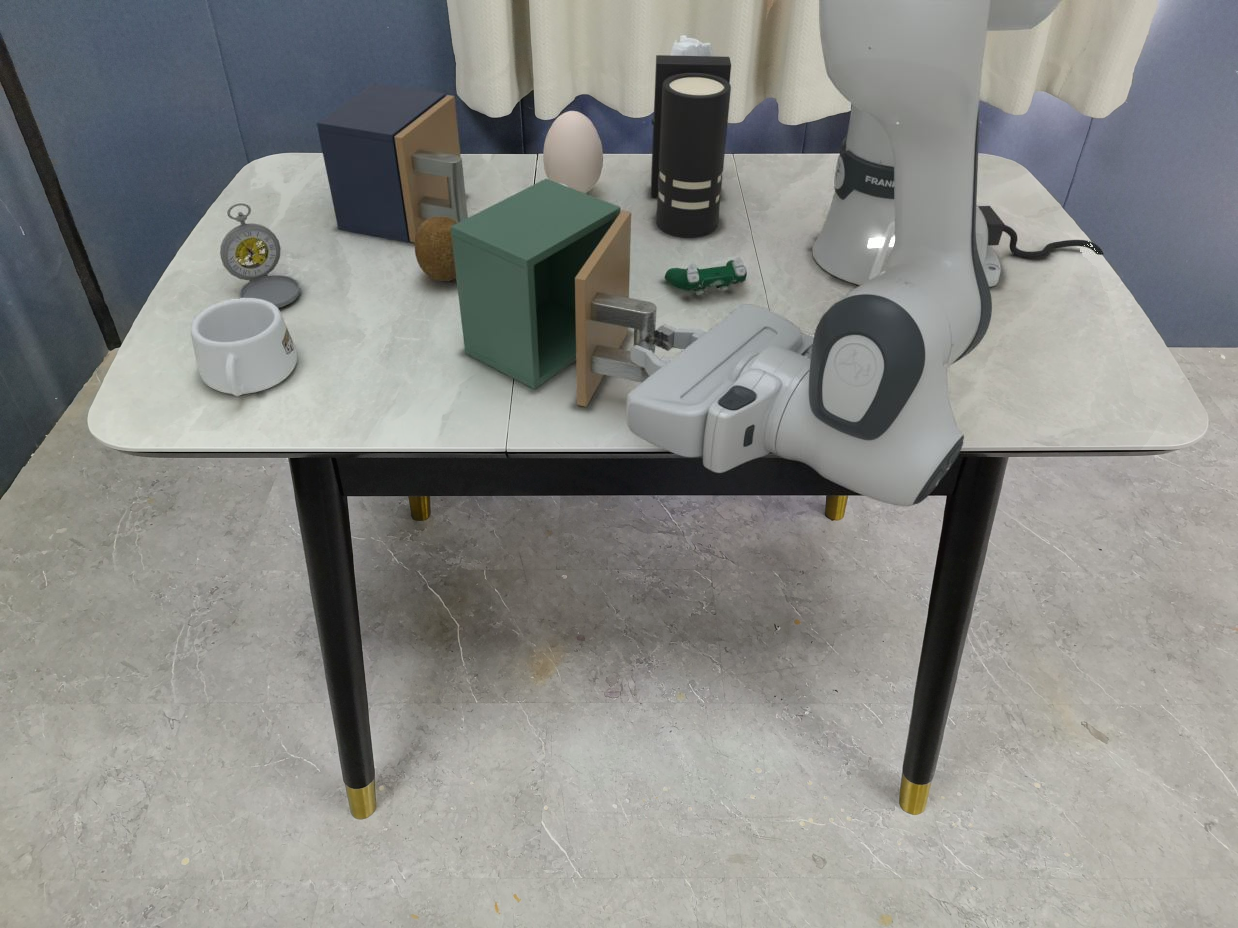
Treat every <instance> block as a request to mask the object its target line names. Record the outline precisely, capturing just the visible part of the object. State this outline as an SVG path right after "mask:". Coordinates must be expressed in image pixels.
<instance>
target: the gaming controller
mask: <svg viewBox="0 0 1238 928" xmlns="http://www.w3.org/2000/svg"><path fill="white" fill-rule="evenodd" d="M747 276H748V271H747V268H746V266H745V264H744V262H743V259H741V258H740V257H735V258H734V259H731V260H728V261H727V262H726V263H725V265H722V266H714V267H706V268H698V266H697V265H696V264H695V263H690V264H689V265H688V266H687V268H681V267H672V268H668V269H667V270H666V271H665V275H664V277H663V279H664V280H665V281H666V282H667V283H668V284H669V285H670V286H672V287H673V288H675V289H676V290H677V289H678V290H681V291H687V292H694V293H695V295H696V296H699V295H703V294H705V290H706V289H707V288H711V287H715V288H716V289H718V291H719V292H726V291H728V290H729V287H730V285H737V284H739V283H743V282H745V281H746V278H747Z"/></svg>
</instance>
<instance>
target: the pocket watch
mask: <svg viewBox="0 0 1238 928" xmlns="http://www.w3.org/2000/svg"><path fill="white" fill-rule="evenodd" d="M239 206H243V207H246V208H247V213H246V214H244V213H243V212H242V211H239V212H237V215H236V217H234V216H233V215H231V210H233V208H235V207H239ZM251 212H252V208H251V206H250V205H248V204H246V203H235V204H233V205H231V206H230V207H228V210H227V211H226V213H227V214H226V215H227V216H228V218H230V219H232V220H234V221H236V222H239V223H240V224H239V225H237V226H235V227H233V228H232V229H230V230H229V231H228V232H227V233H226V234H225V236H224V238H223V239H222V242H221V244H220V251H219V253H220V260H221V262H222V263H221V264H222V265H223V267H224V268H225V269H226V270H227V272H228V273H229V274H230V275H231V276H233V277H235V278H237V279H240V280H243V281H244V280H245V281H248V282H247V283H245V284H244V285H243V286H242V287H241V288H240V290H239V292H238V293H239V295H238V296H239V297H238V298H256V299H262V300H265V301H268V302H271V303H272V304H274V305H275V306H276V307H277V308H278V309H279V308H283V307H286V306H287V305H289V304H292V303H293V302H294V301H295V300H296V299H298V297H299V296H300V293H301V286H300V283H299V281H298V280H297V279H295V278H293V277H291V276H287V275H282V274H274V275H269V274H270V273H271V272H273V270H275V268H276V266H278V263H279V262H280V258H281V251H282V250H281V249H282V247H281V245H280V241H279V238H278V237H277V236H276V234H275V233H274V232H273V231H272V230H271V229H270V228H268V227H266V226H265V225H262V224H259V223H254V222H251V223H250V222H249V223H246V220H247V219H248V217H249V216H250V214H251ZM263 250H264V252H263ZM261 252H263V253H261ZM246 257H247V259H246ZM247 262H249V264H247ZM251 263H252V264H251Z"/></svg>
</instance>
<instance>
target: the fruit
mask: <svg viewBox="0 0 1238 928" xmlns="http://www.w3.org/2000/svg"><path fill="white" fill-rule="evenodd" d="M455 224H457V223H456V222H455V221H454V220H453V219H451V218H448V217H441V216H440V217H433V218H429V219H427V220H425V221H424V222H423V223H422V224H421V226H420V227H419V229H418V230H417V233H416V235H415V242H413V243H414V255H415V258H416V261H417V264H418V266H419V268H420V269H421V270H422V272H423V273H424V274H425V275H426V276H427V277H428V278H429V279H432V280H435V281H438V282H449V281H452V280H455V279H456V270H455V261H454V253H453V244H452V235H451V226H453V225H455Z"/></svg>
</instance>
